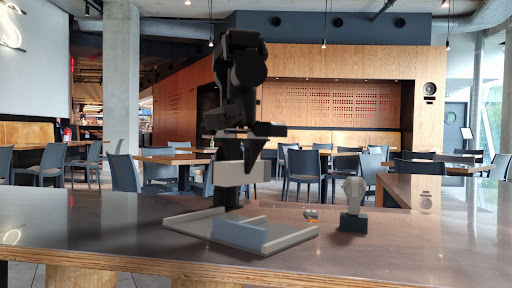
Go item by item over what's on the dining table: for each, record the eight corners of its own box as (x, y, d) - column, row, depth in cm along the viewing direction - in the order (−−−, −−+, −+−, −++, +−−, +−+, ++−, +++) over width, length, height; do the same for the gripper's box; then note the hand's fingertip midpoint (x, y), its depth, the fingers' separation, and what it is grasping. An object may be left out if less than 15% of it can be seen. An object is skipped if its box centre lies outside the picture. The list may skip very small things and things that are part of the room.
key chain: (302, 214, 93) (302, 208, 93) (317, 215, 92) (317, 209, 92) (305, 228, 80) (306, 221, 80) (323, 229, 80) (323, 222, 80)
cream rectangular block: (256, 179, 81) (256, 159, 81) (270, 181, 79) (271, 160, 79) (212, 184, 71) (212, 161, 71) (227, 187, 69) (227, 163, 69)
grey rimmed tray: (221, 213, 89) (221, 196, 89) (318, 235, 73) (319, 214, 73) (162, 226, 76) (163, 207, 76) (265, 257, 60) (266, 232, 59)
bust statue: (366, 225, 81) (368, 175, 81) (367, 235, 73) (370, 179, 73) (339, 223, 83) (341, 173, 82) (338, 233, 75) (340, 178, 74)
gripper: (178, 92, 74) (177, 172, 74) (251, 86, 62) (249, 181, 62) (219, 97, 82) (218, 169, 82) (290, 93, 70) (287, 176, 71)
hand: (240, 173), depth 74 cm, fingers closed on cream rectangular block, 3 cm apart
